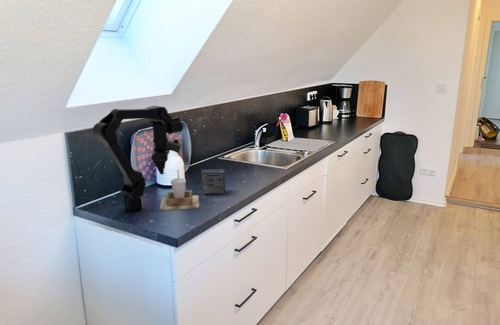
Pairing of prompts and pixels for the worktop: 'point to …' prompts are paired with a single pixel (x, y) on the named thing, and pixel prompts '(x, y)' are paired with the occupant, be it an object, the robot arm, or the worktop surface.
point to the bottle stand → (180, 201)
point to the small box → (213, 182)
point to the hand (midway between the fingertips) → (162, 171)
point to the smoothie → (178, 187)
